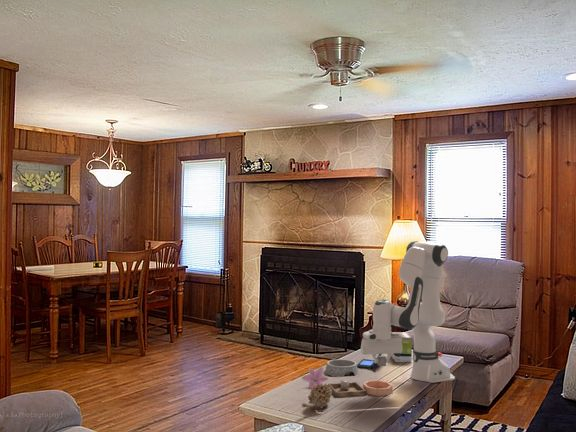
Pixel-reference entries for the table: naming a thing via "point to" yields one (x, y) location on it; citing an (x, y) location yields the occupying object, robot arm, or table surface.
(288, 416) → the table surface
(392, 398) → the table surface
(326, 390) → the pine cone
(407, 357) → the tea box
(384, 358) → the grey rounded cylinder
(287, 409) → the table surface
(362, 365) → the handheld game console
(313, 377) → the lily
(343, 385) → the pebble
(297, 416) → the table surface
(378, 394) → the bowl
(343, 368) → the dog bowl
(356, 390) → the tray
